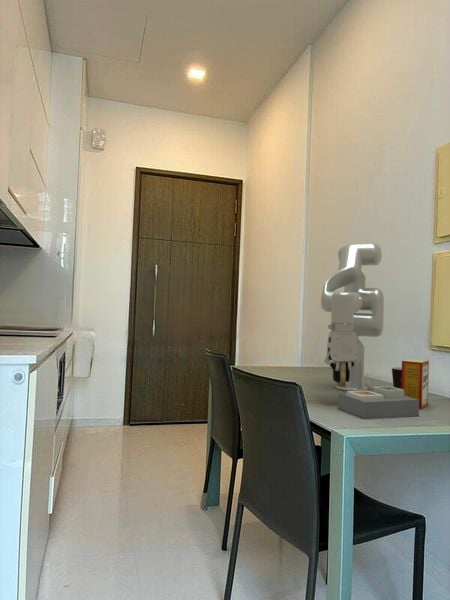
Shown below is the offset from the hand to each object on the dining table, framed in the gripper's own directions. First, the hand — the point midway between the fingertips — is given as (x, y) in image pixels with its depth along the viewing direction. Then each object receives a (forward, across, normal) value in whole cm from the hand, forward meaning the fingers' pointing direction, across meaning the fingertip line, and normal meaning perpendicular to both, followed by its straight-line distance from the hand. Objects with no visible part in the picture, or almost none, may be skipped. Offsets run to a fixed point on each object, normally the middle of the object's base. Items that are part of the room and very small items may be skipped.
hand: (341, 380), depth 154 cm
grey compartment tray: (+8, +5, -13) cm, 16 cm away
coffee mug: (+10, +38, +12) cm, 41 cm away
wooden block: (+2, 0, 0) cm, 2 cm away
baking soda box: (+9, +25, -7) cm, 27 cm away
